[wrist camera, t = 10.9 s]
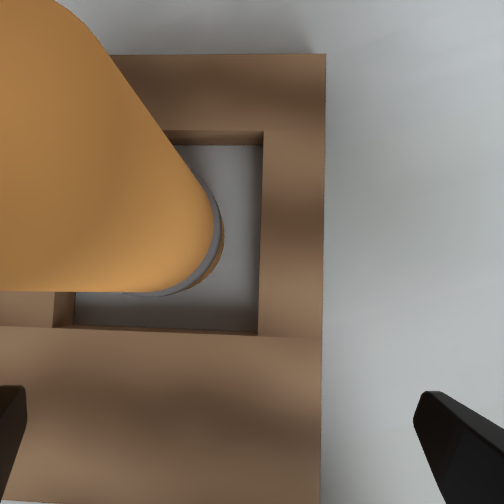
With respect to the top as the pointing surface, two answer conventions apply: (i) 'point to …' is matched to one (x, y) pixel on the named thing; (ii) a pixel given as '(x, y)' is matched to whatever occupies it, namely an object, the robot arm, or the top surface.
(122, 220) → the orange round cylinder
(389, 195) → the top surface
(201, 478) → the wooden frame
